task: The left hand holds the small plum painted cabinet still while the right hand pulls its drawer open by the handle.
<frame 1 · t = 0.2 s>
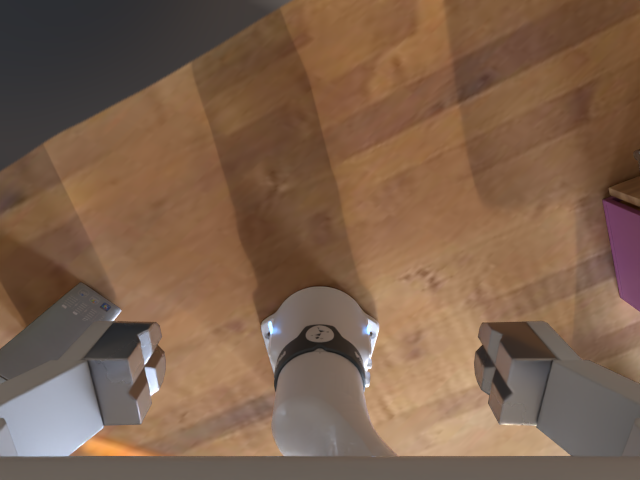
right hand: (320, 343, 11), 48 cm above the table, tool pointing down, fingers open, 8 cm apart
hard drive box: (77, 325, 66), on the table
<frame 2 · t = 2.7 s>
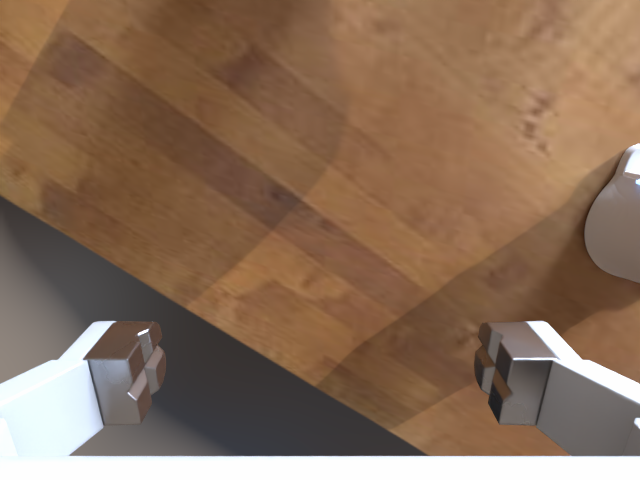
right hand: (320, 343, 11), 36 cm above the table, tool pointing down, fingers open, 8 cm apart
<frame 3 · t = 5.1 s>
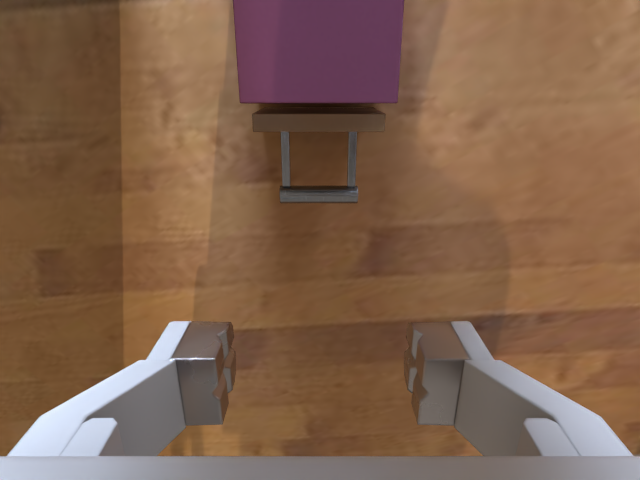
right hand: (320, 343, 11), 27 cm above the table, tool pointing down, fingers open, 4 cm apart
drawer: (318, 49, 29), point 4 cm above the table, slide at 0.7 cm
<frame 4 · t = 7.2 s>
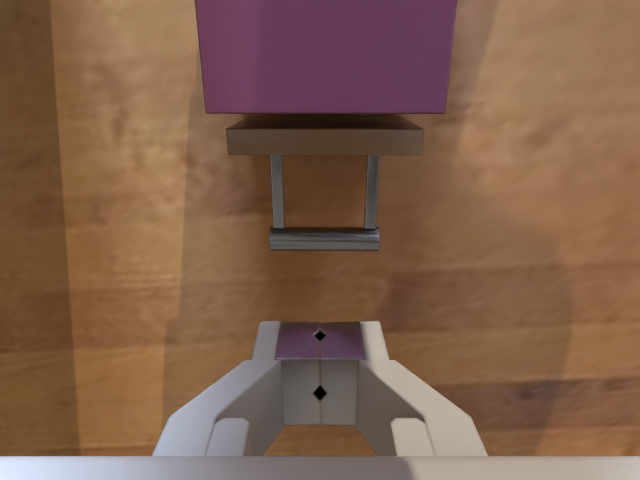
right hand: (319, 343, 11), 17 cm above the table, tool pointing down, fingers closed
drawer: (325, 34, 20), point 4 cm above the table, slide at 0.7 cm
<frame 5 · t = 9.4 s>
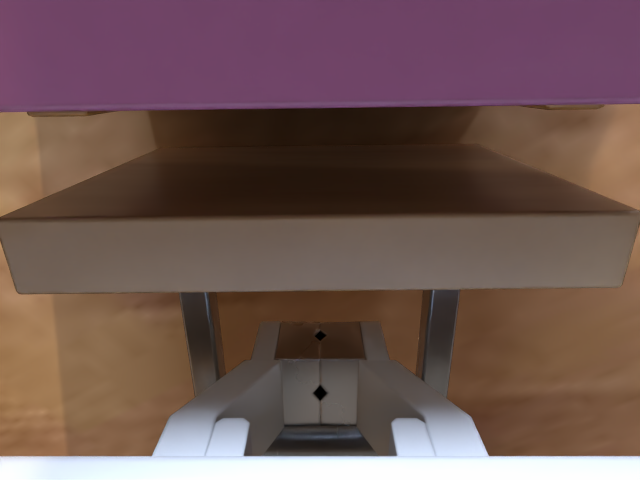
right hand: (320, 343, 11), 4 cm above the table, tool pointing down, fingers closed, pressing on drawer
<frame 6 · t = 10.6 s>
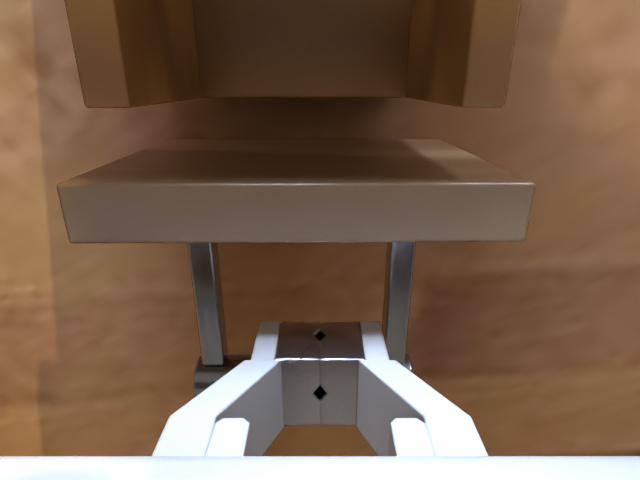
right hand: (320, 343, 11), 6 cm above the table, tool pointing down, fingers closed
when the left hand's fingers open (3 cm above the table, at t = 11.9 s): cabinet stays where it is, on the table.
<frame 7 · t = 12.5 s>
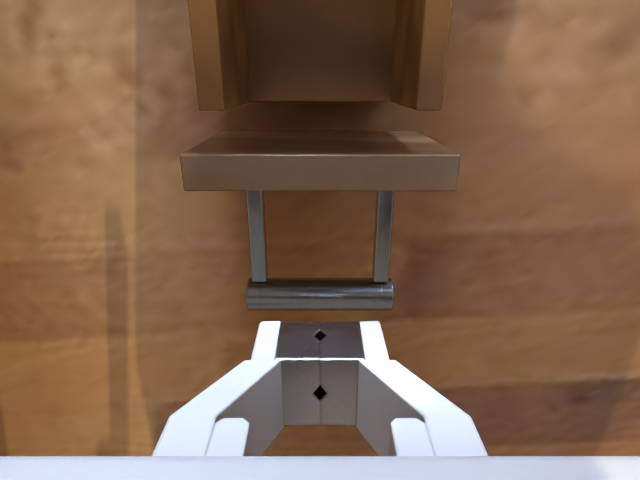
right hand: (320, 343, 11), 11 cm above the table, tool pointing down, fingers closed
drawer: (320, 22, 14), point 4 cm above the table, slide at 5.8 cm
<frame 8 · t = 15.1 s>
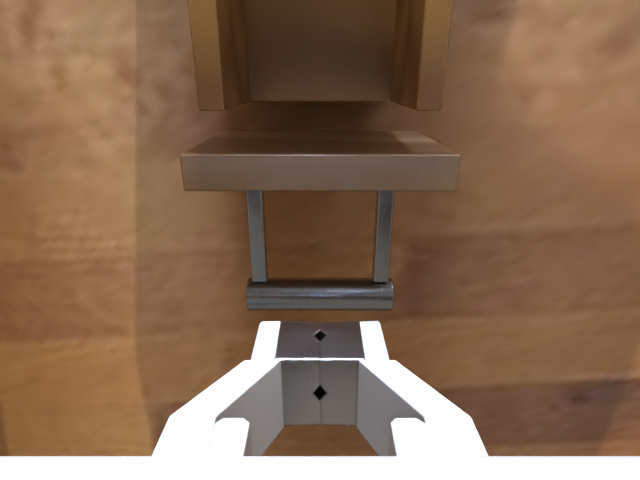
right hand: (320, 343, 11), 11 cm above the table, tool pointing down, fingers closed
drawer: (320, 22, 14), point 4 cm above the table, slide at 5.8 cm
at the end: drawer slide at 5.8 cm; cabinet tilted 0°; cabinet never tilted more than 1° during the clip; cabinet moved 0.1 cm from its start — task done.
